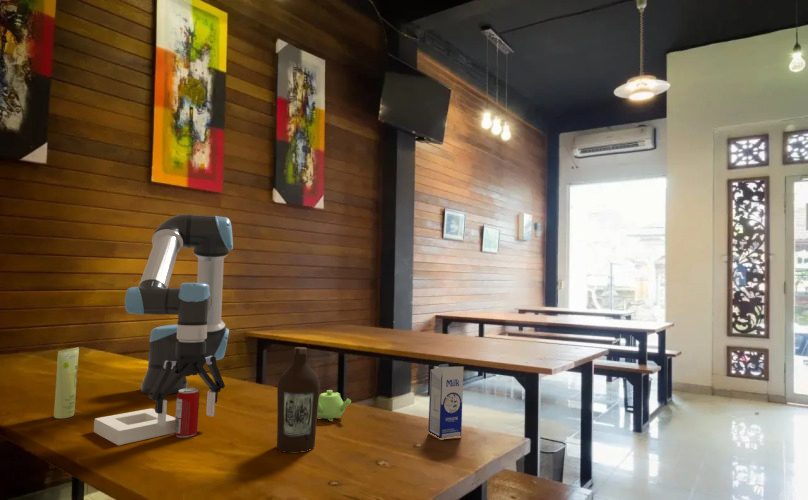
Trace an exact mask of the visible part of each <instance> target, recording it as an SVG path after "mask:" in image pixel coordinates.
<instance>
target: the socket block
mask: <svg viewBox="0 0 808 500" xmlns="http://www.w3.org/2000/svg"><path fill="white" fill-rule="evenodd" d="M175 419H176V417H175V416H171V415H169V414H167V413H166V424H165V427H161V426H159V425H157V422H158V414H157V413H156V412H155V408H152V407H151V408H145V409H140V410H135V411H129V412H124V413H118V414H113V415H107V416H106V415H105V416H101V417H97V418H94V422H93V424H94V425H93V433H95V434H96V435H99V436H100V437H102V438H104V439H106V440H107V441H109V442H111V443H113V444H115V445H116V446H122V445H126V444H131V443H136V442H140V441H144V440H148V439H153V438H157V437H163V436H166V435H171V434H175Z"/></svg>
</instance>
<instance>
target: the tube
mask: <svg viewBox="0 0 808 500" xmlns="http://www.w3.org/2000/svg"><path fill="white" fill-rule="evenodd" d="M79 351H80V347H79V346H77V347H73V348H68V349H62V350H58V351H57V361H56V378H55V381H56V382H55V395H54V405H53V406H54V409H53V417H54V418H55V419H67V418H71V417H73V416H74V415H75V409H76V408H75V407H76V393H77V392H76V391H77V378H78V365H79Z"/></svg>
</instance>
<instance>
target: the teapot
mask: <svg viewBox="0 0 808 500" xmlns="http://www.w3.org/2000/svg"><path fill="white" fill-rule="evenodd" d="M333 391H334V390H332V389H328V390H326V392H323V393H319V401H318V412H317V418H322V419H327V421H328V420H332V419H333V420H334V419H337V417H340V418H341V417H342V415H344V413H345V411H346V409H347V407H348V406H349V405H350V404H351V402H352V400H351V399H350V398H346V399H345V401H343V399H342V397H341V393H339V392H333Z"/></svg>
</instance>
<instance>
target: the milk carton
mask: <svg viewBox="0 0 808 500" xmlns="http://www.w3.org/2000/svg"><path fill="white" fill-rule="evenodd" d="M464 368H465V367H464V366H449V363H443V364H438V367H435V368H432V369H430V374H429V377H430V378H429V379H430V380H429V402H428V403H429V405H428V406H429V407H428V431H429V432H430V433H432V434H434V435H436V436H437V437H439V438H447V437H454V436H461V437H462V428H463V427H462V425H463V422H462V421H463V397H464V396H463V395H464V394H463V392H464ZM428 431H427V432H428Z"/></svg>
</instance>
